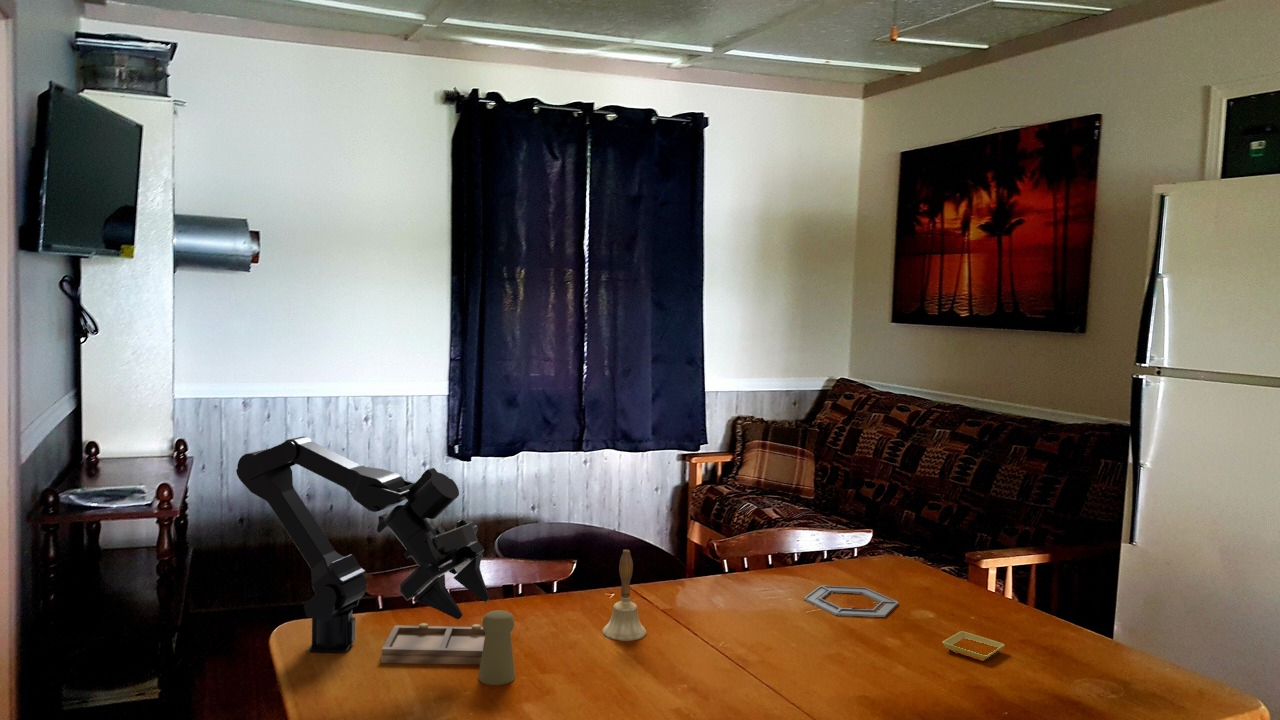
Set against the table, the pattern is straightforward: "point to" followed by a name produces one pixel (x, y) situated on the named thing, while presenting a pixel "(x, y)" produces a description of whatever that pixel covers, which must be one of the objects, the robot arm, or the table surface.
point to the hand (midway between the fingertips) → (474, 608)
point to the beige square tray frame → (957, 637)
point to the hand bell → (625, 608)
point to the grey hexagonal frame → (836, 610)
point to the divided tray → (434, 645)
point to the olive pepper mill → (497, 649)
